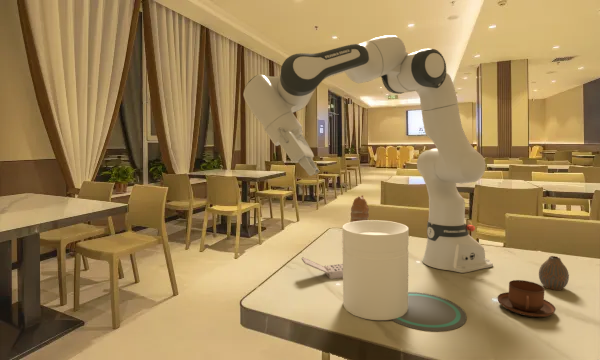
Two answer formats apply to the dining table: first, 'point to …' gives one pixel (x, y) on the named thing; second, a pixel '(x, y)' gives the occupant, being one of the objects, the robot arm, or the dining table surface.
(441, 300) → the charging mat
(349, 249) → the canister
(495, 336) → the dining table surface
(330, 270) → the mobile phone
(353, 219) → the brown ribbed oblong piece
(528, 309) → the cup and saucer
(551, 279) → the vase
